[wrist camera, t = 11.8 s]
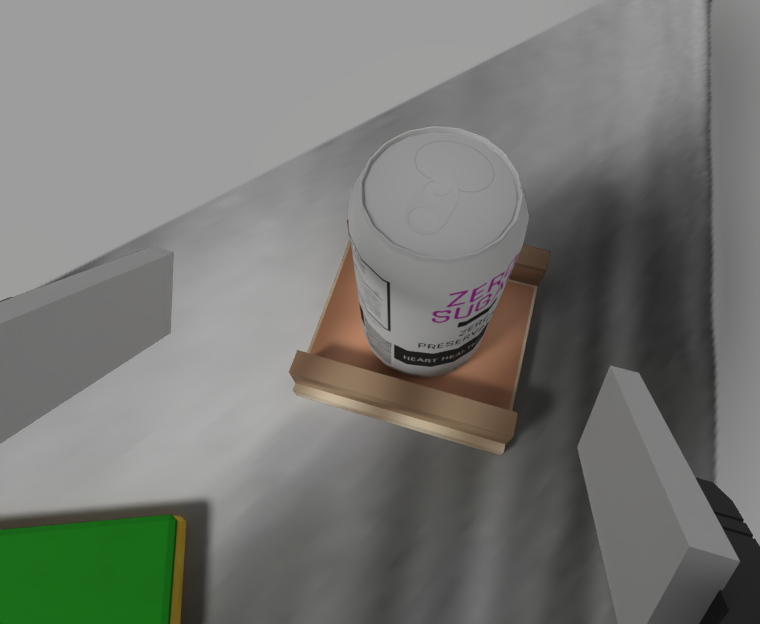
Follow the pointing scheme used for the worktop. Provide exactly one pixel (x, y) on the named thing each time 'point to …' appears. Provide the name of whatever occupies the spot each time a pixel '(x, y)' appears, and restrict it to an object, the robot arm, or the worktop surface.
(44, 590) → the dish sponge
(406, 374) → the supplement can
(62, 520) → the worktop surface
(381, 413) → the groove board
